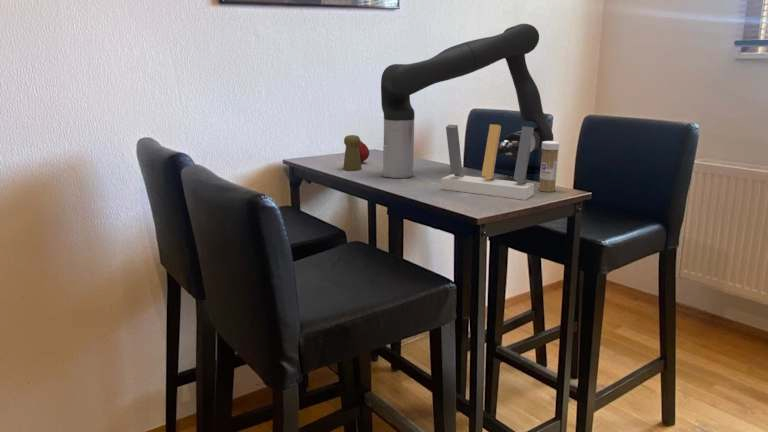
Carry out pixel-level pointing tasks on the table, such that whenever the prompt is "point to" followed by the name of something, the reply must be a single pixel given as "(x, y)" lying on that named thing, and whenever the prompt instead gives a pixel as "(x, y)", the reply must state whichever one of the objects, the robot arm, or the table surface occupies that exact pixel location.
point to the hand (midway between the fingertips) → (498, 151)
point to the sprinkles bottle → (548, 166)
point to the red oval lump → (363, 151)
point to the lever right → (523, 154)
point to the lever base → (488, 186)
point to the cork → (352, 153)
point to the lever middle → (491, 151)
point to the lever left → (454, 149)
